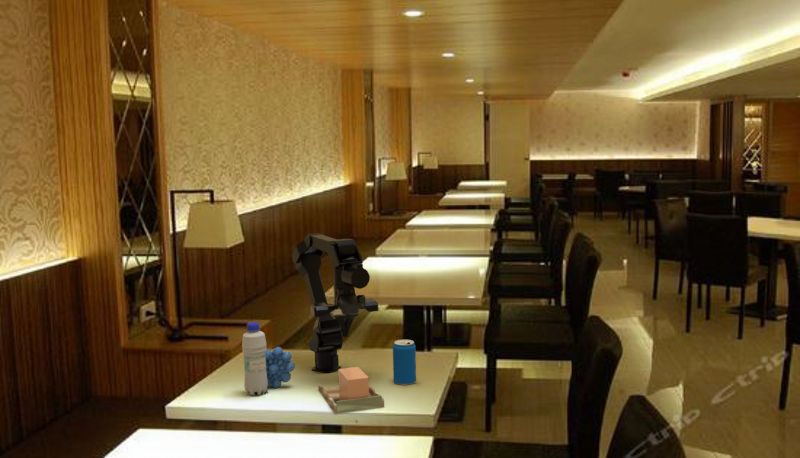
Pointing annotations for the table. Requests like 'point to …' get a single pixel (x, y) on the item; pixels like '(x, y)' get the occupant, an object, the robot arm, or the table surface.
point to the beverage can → (404, 362)
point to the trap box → (351, 400)
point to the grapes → (278, 367)
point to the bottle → (254, 359)
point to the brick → (353, 383)
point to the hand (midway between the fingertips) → (345, 336)
